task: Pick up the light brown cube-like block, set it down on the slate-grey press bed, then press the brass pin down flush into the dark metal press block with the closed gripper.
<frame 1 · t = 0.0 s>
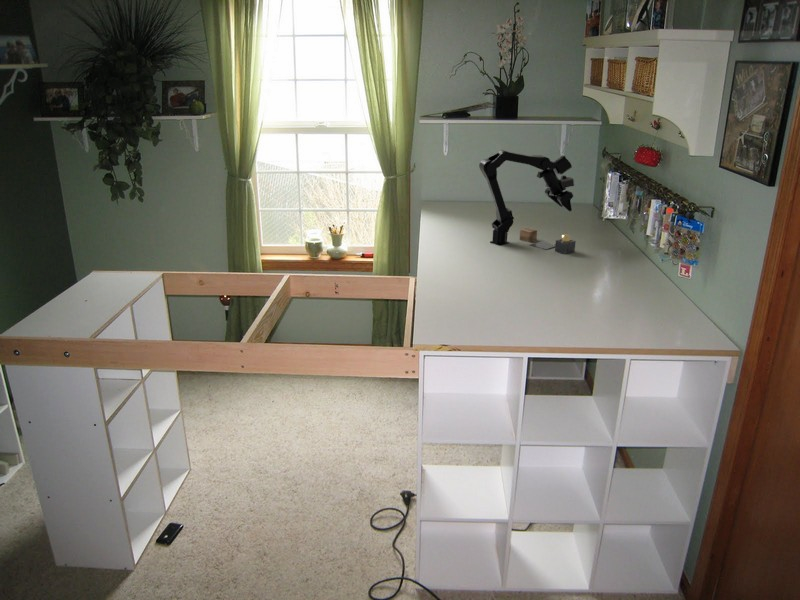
hand: (566, 208, 297), 15 cm above the table, tool tilted 35°, fingers open, 9 cm apart
light brown cube-like block: (527, 240, 302), on the table
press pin: (565, 240, 282), point 5 cm above the table, slide at 0.0 cm
press block: (564, 251, 284), on the table
press bed: (543, 245, 293), on the table
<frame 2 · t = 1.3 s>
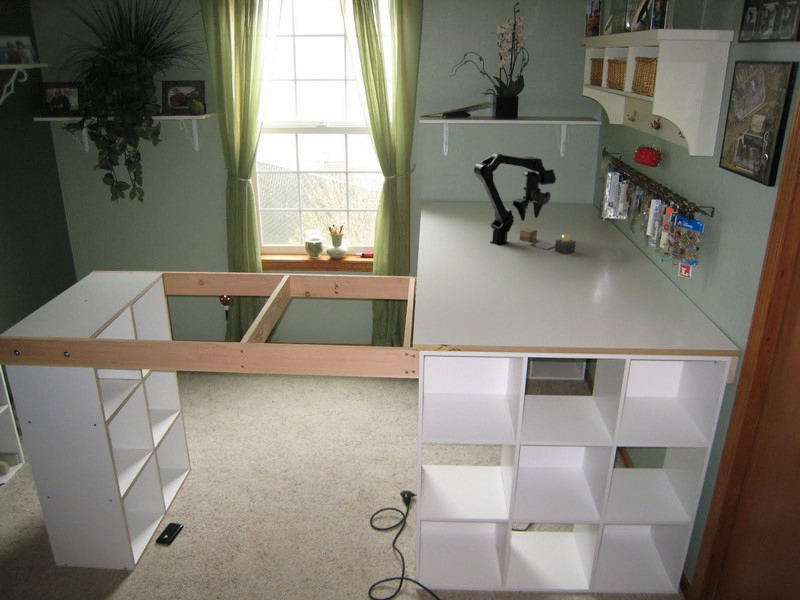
hand: (529, 219, 298), 10 cm above the table, tool pointing down, fingers open, 9 cm apart
nothing on the table moved.
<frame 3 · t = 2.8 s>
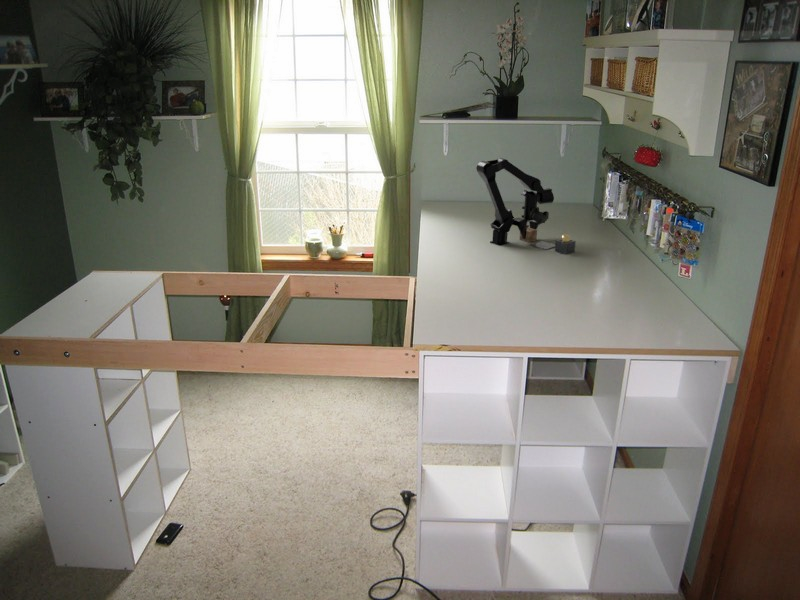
hand: (528, 237, 301), 1 cm above the table, tool pointing down, fingers closed on light brown cube-like block, 5 cm apart
light brown cube-like block: (527, 239, 302), on the table, touching gripper
everything else where it was.
when the fingers open (3 cm above the table, at t = 7.0 s): light brown cube-like block drops 1 cm, resting on press bed.
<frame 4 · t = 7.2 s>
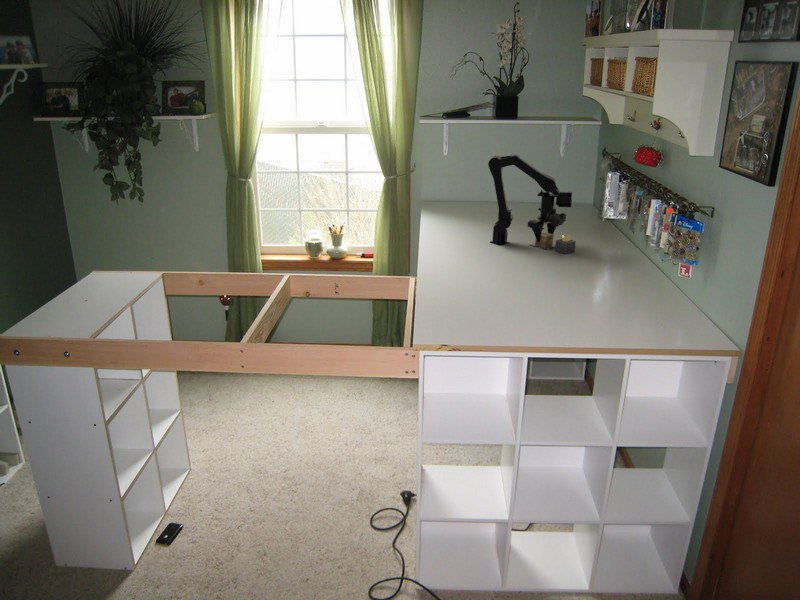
hand: (544, 240, 292), 3 cm above the table, tool pointing down, fingers open, 8 cm apart
light brown cube-like block: (543, 245, 292), resting on press bed
everything else where it was.
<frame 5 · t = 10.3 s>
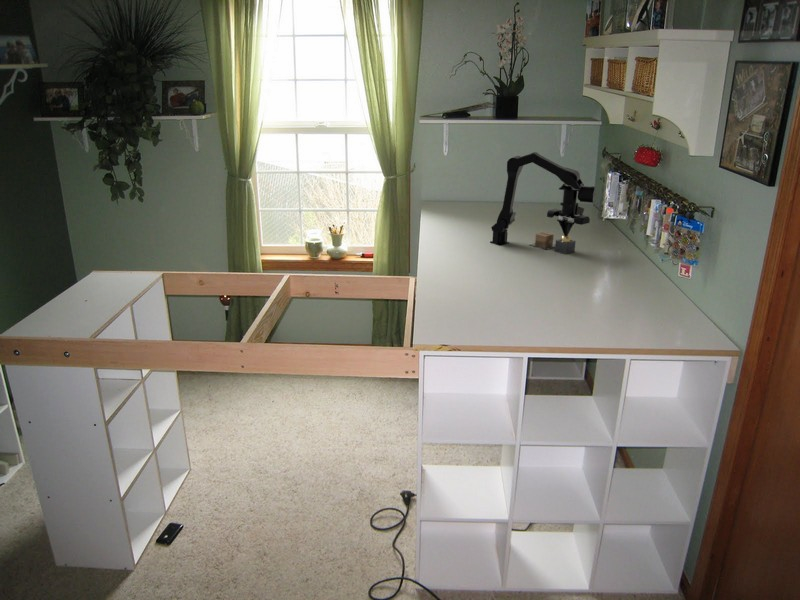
hand: (566, 235, 282), 7 cm above the table, tool pointing down, fingers closed, pressing on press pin
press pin: (565, 241, 283), point 5 cm above the table, slide at 0.4 cm, touching gripper
everything else where it was.
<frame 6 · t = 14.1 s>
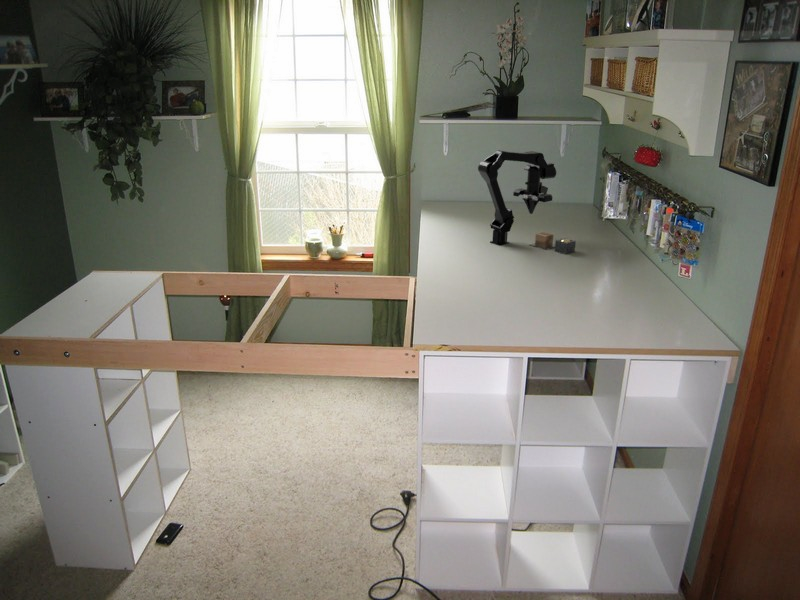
hand: (531, 213, 299), 12 cm above the table, tool pointing down, fingers closed
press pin: (565, 245, 283), point 3 cm above the table, slide at 2.2 cm
everything else where it was.
at the end: light brown cube-like block 0.0 cm off-centre on the press bed, point 0.4 cm above the press bed's base; light brown cube-like block tilted 0°; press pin slide at 2.2 cm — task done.
